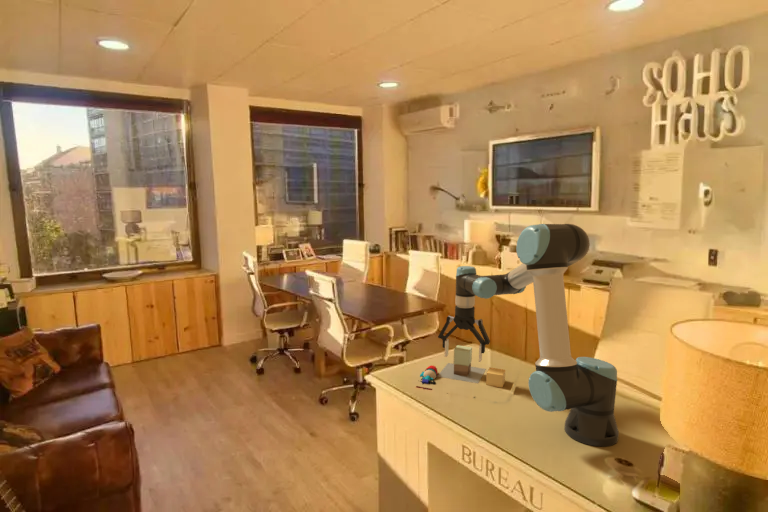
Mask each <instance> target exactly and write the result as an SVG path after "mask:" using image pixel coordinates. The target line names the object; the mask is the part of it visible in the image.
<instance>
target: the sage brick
mask: <svg viewBox="0 0 768 512" xmlns="http://www.w3.org/2000/svg"><path fill="white" fill-rule="evenodd" d="M472 353H473V347H472V346H467V345H466V346H465V345H458V344H457V345H456V346H455V347H454V348H453V363H452V364H457V365H463V366H469V365H470V363H471V364H472V359H473V358H472V356H473V355H472Z"/></svg>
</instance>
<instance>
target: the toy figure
mask: <svg viewBox="0 0 768 512" xmlns="http://www.w3.org/2000/svg"><path fill="white" fill-rule="evenodd" d="M437 376H438V368H437V367H436V366H435V365H429V366H427V367H426V369H425V371H422V372H421V373H420V374H419V377H420V378H421V377H422V378H421V379H420V380H419V382H421V383H422V385H424V384H426V385H428V384H429V385H433V386H434V385H436V384H437V382H436V381H435V379H436V378H437ZM415 388H418V389H424V390H427V391H428V390H429V391H433V388H429V387H424V386H418V385H416V386H415Z"/></svg>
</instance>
